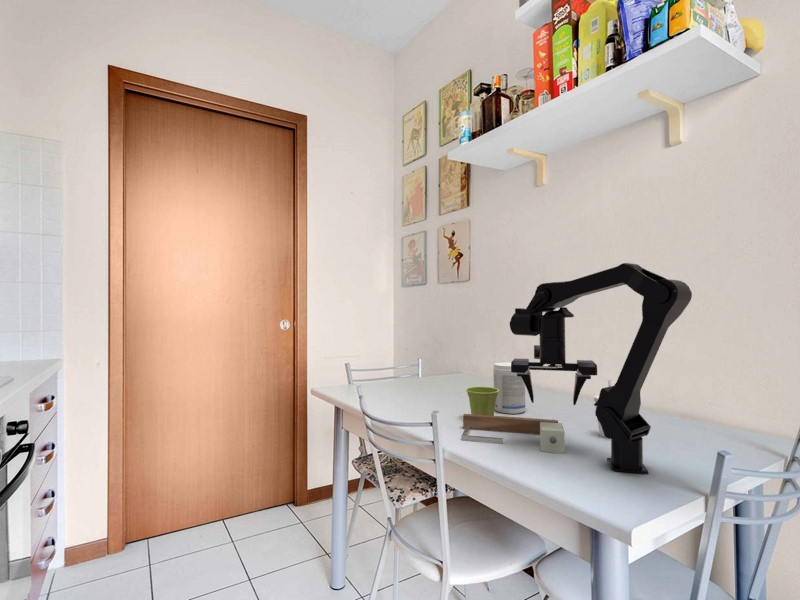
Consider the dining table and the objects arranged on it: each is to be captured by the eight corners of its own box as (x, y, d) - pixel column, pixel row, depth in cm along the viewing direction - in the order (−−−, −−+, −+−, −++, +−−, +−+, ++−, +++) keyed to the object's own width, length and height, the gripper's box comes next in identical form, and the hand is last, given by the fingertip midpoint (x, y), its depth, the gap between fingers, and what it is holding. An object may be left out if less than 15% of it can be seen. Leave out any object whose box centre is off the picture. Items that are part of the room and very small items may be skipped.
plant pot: (482, 425, 121) (482, 394, 121) (459, 418, 129) (459, 388, 129) (506, 420, 126) (506, 390, 126) (482, 414, 134) (482, 385, 134)
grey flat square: (503, 443, 105) (503, 439, 105) (461, 439, 108) (461, 435, 108) (505, 432, 114) (505, 428, 114) (466, 429, 117) (466, 425, 117)
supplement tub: (531, 411, 138) (531, 363, 138) (514, 416, 131) (514, 366, 131) (504, 406, 145) (504, 361, 145) (487, 410, 138) (487, 363, 138)
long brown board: (558, 435, 111) (558, 422, 111) (463, 428, 118) (463, 415, 118) (557, 433, 113) (557, 420, 113) (464, 426, 120) (464, 413, 120)
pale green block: (565, 455, 97) (564, 432, 98) (541, 453, 99) (541, 430, 99) (562, 444, 105) (561, 423, 105) (540, 442, 106) (539, 421, 106)
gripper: (591, 335, 108) (592, 399, 108) (513, 334, 114) (514, 395, 114) (596, 338, 98) (598, 408, 97) (510, 337, 104) (511, 404, 103)
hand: (553, 403), depth 103 cm, fingers open, 9 cm apart
